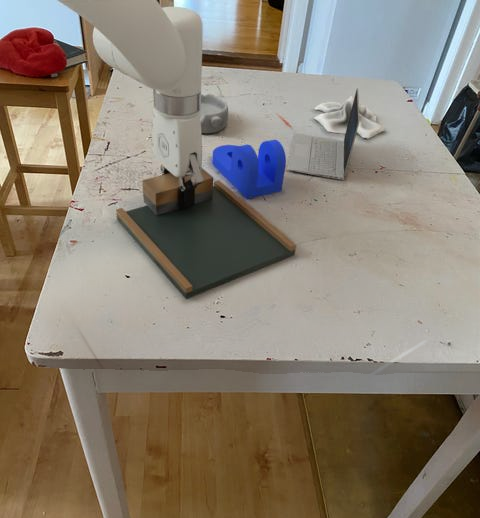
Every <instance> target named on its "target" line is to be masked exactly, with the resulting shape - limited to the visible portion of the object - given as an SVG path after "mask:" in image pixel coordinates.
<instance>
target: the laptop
mask: <svg viewBox="0 0 480 518" xmlns="http://www.w3.org/2000/svg"><path fill="white" fill-rule="evenodd" d="M359 101H360V99H359V88H356V90H355V94H354V102H353V106H352V110H351V114H350V118H349V122H348V126H347V130H346V134H344V137H343V140H341V139H333V138H327V137H321V136H313V135H307V134H302V133H301V134H300V133H294V134H293V137H292V142H291V147H290V152H289V158H288V164H287V169H286V170H287V171H292V172H296V173H302V174H308V175H312V176H313V175H314V176H318V177H323V178H329V179H334V180H342V181H344V180H345V177H346V174H347V170H348V167H349V163H350V159H351V155H352V151H353V149H354V148H353V147H354V144H355V140H356V138H357V134H358V133H357V130H358V126H359V121H360V120H359V104H360V102H359Z"/></svg>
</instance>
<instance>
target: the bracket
mask: <svg viewBox="0 0 480 518" xmlns="http://www.w3.org/2000/svg"><path fill="white" fill-rule="evenodd" d="M211 162H212V166H213V167H214V168H215V169H216V170H217V171H218V172H219V173H220V174H221V175H222V177H224V178H225V179H226V180H227V181H228V182H229V183H230V184H231V185H232V186H233V187H234V188H235V189H236V190H237V191H238V192H239V193H240V194H241V196H243V197H244V198H245V200H249V199H253V198H257V197H261V196H267V195H270V194H274V193H279V192H282V191H283V185H284V177H285V172H286V165H287V156H286V152H285V148H284V146H283V145H282V143H281V142H280V141H279V140H278V139H269V140H264V141H262V142H261V144H260V145H259V148H258V153H256V150H255V149H254V148H253V147H252V145H250V144H243V145H242V144H241V145H234V144H224V145H219V146H217V147H215V148H214V149H213V150H212V157H211Z"/></svg>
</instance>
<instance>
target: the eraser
mask: <svg viewBox="0 0 480 518" xmlns="http://www.w3.org/2000/svg"><path fill="white" fill-rule="evenodd" d="M188 170H190V169H189V168H188ZM200 172H201V175H202V178H203V183H201V184H199V185H198V186H197V187H196V188H195V204H197V203H200V202H203V201H207V200H210V199H212V198H213V186H214V177H213V175H211V174H210V173H209V172H207V170H205V169H204V168H203V167H201V171H200ZM184 178H185V182H187V181H188V180H190V175H189V176H185V177H184ZM141 183H142V199H143V203H144V204H145V206H148V207H149V208H150V209H151V210H152V211H153V212H154V213H155V214H156V215H160V214H163V213H167V212H170V211H173V210H177V209H179V208H178V189H180V183H179V178H177V177H175V176H174V175H173V174H172V173H168V174H165V175H162V174H161V175H157V176H153V177H149V178H145V179H142V182H141Z"/></svg>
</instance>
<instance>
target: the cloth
mask: <svg viewBox="0 0 480 518" xmlns="http://www.w3.org/2000/svg"><path fill="white" fill-rule="evenodd" d="M354 98H355V96H353V95H351V96H350V97H348V98H347V99H346V100H345V101H343V103H339V102H336V101H327V102H322V103H319V104H318V105H317V106H316V107H314V110H316V111H321V112H323V113H320V114H317V115H316V116H315V117H313V119H314V120H315V121H316V122H318V123H319V124H320V125H321V126H322V127H323V128H324V129H325V130H326V132H328V133H334V134H342V135H345V134H346V130H347V126H348V122H349V118H350V114H351V110H352V106H353V102H354ZM359 120H360V121H359V126H358V130H357V133H356V134H358V135H359V136H360V137H361V138H363V139H367V140H369V139H370V138H372V137H375V136H376V135H378V134H380V133H382V132H385V131H386V130H385V128H384V126H383V125H381V124H380V123H378V122H377V115H376V114H375V113H374V112H373V111H372V110H371V109H369V108H368V107H366V106H365V105H364V104H361V103H359Z"/></svg>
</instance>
